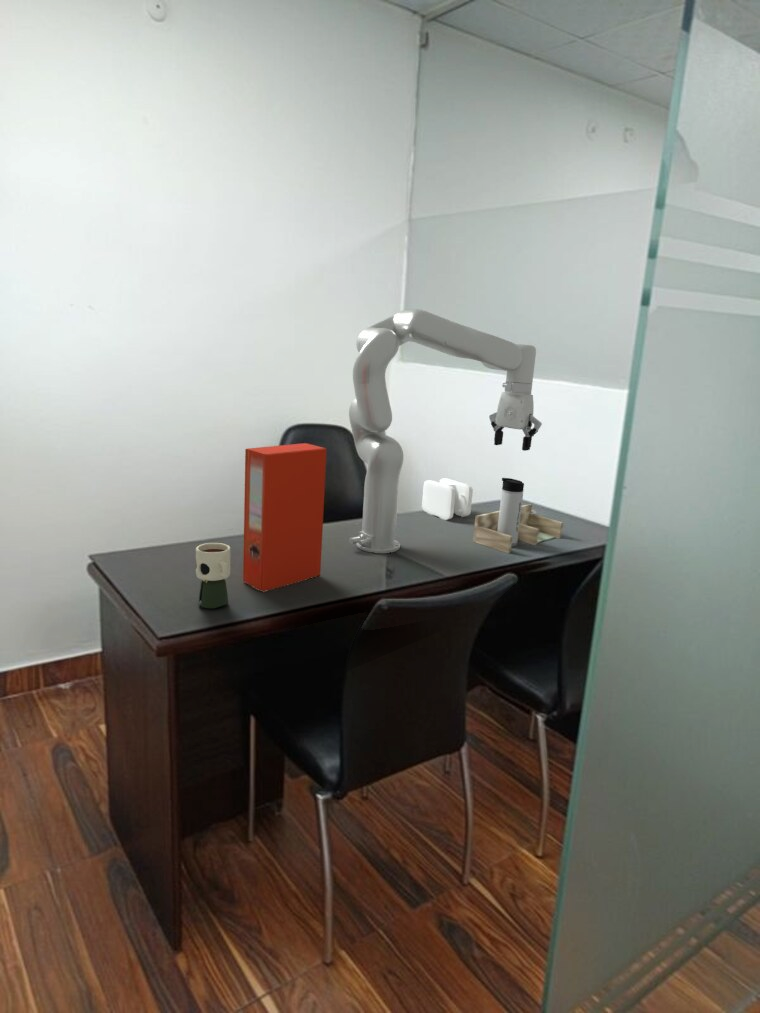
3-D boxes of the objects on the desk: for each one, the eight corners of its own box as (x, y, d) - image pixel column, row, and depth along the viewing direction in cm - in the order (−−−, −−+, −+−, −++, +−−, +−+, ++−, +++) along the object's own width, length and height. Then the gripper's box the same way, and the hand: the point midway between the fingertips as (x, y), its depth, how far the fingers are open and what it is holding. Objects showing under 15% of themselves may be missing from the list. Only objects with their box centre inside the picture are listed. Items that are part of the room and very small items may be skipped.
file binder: (321, 576, 164) (326, 448, 156) (263, 593, 152) (266, 454, 144) (300, 567, 169) (304, 442, 161) (243, 582, 157) (244, 448, 149)
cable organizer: (419, 511, 231) (421, 478, 228) (441, 508, 237) (444, 476, 235) (449, 522, 220) (452, 488, 217) (471, 518, 226) (475, 485, 223)
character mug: (186, 600, 145) (185, 543, 142) (216, 593, 150) (216, 538, 147) (209, 617, 137) (209, 558, 134) (240, 610, 142) (241, 552, 139)
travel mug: (492, 540, 203) (499, 475, 198) (513, 540, 204) (520, 476, 199) (498, 546, 197) (505, 480, 192) (519, 547, 198) (527, 481, 193)
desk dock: (508, 553, 191) (511, 526, 189) (472, 541, 200) (475, 515, 198) (561, 537, 210) (564, 513, 208) (526, 527, 219) (529, 503, 217)
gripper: (486, 385, 195) (480, 443, 200) (537, 392, 184) (530, 453, 188) (500, 385, 200) (494, 442, 205) (551, 391, 189) (544, 451, 193)
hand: (511, 447), depth 196 cm, fingers open, 9 cm apart
